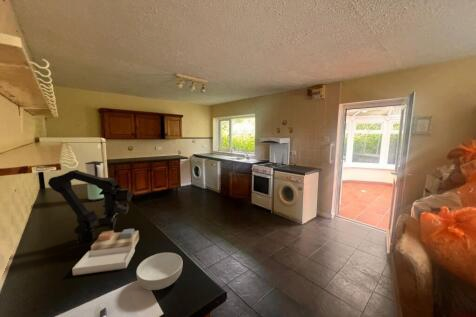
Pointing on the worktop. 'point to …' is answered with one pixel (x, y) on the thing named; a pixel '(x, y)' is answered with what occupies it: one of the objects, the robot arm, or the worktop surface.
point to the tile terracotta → (106, 235)
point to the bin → (104, 260)
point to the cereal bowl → (159, 271)
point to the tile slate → (127, 233)
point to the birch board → (116, 241)
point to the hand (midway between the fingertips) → (112, 228)
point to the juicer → (97, 170)
